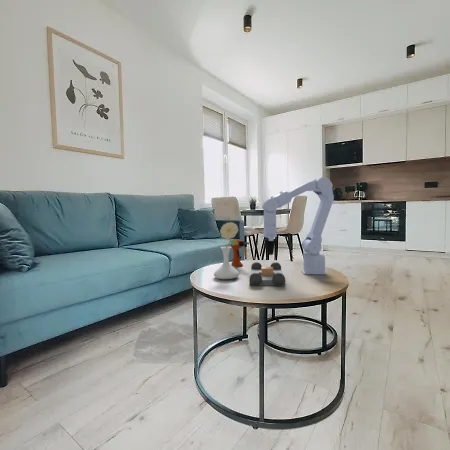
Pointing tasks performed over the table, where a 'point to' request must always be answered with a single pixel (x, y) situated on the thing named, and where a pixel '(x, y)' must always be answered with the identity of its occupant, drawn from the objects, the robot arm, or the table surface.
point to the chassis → (258, 279)
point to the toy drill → (237, 253)
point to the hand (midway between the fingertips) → (270, 254)
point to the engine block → (267, 271)
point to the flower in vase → (227, 253)
